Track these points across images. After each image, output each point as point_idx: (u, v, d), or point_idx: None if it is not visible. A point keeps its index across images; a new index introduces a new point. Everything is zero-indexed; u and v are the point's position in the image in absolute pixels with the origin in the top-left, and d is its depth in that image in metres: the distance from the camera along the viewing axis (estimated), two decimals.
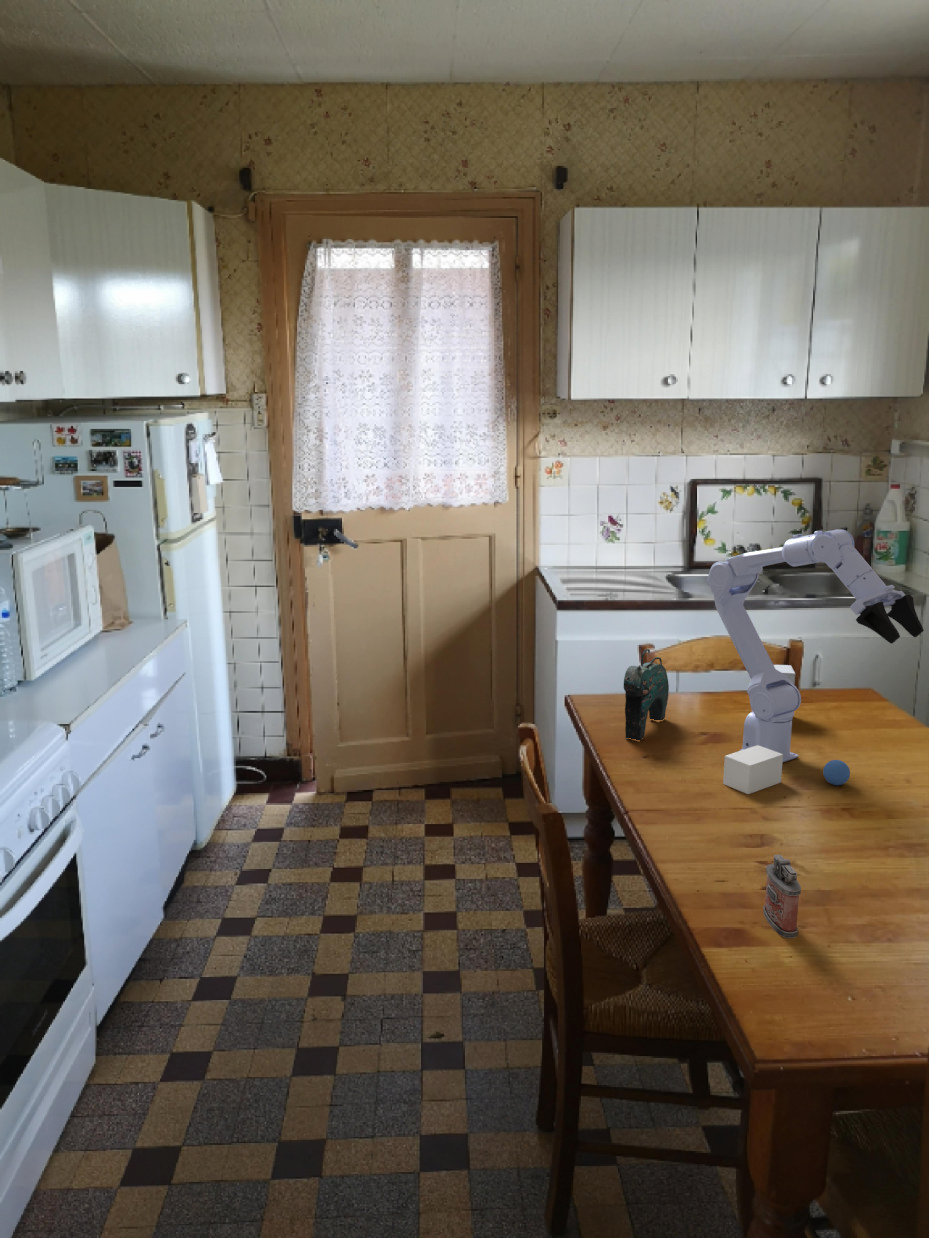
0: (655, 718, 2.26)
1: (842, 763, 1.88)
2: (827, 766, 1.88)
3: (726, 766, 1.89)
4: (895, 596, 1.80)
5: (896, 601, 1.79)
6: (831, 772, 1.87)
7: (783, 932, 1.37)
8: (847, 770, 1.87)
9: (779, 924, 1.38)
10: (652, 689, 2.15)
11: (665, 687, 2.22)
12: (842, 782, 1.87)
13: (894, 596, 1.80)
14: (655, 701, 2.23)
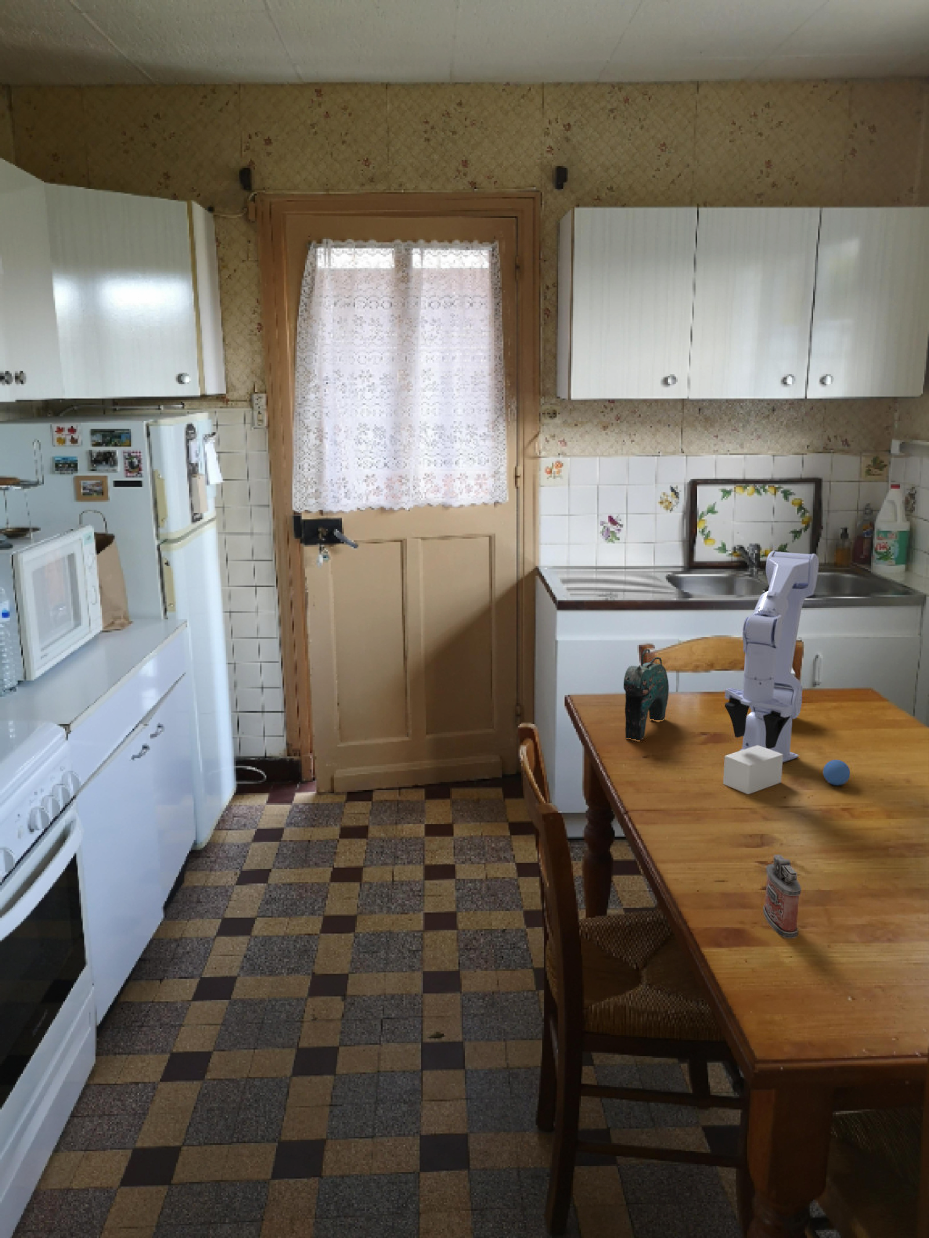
0: (655, 718, 2.26)
1: (842, 763, 1.88)
2: (827, 766, 1.88)
3: (726, 766, 1.89)
4: None
5: None
6: (831, 772, 1.87)
7: (783, 932, 1.37)
8: (847, 770, 1.87)
9: (779, 924, 1.38)
10: (652, 689, 2.15)
11: (665, 687, 2.22)
12: (842, 782, 1.87)
13: None
14: (655, 701, 2.23)
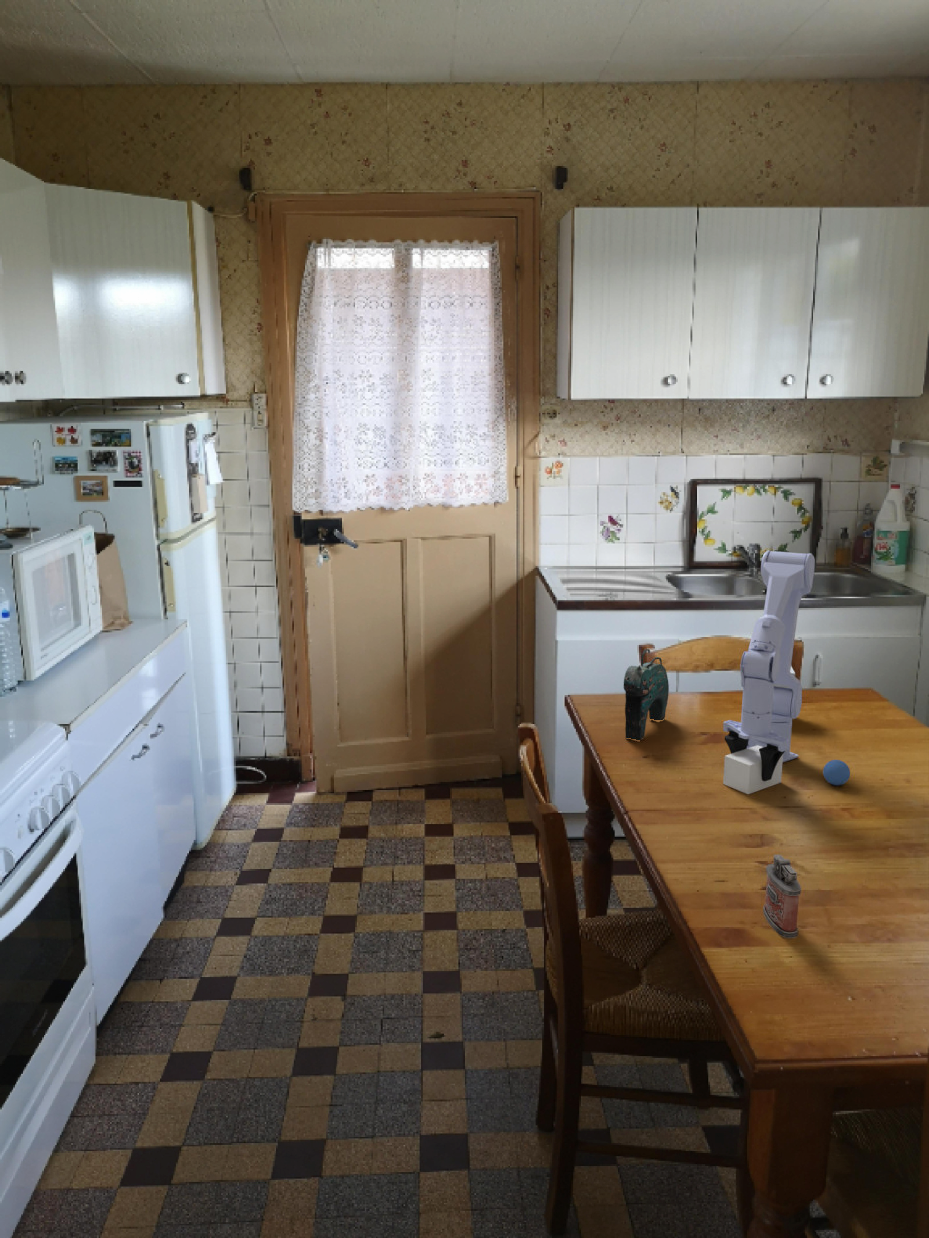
0: (655, 718, 2.26)
1: (842, 763, 1.88)
2: (827, 766, 1.88)
3: (726, 766, 1.89)
4: None
5: None
6: (831, 772, 1.87)
7: (783, 932, 1.37)
8: (847, 770, 1.87)
9: (779, 924, 1.38)
10: (652, 689, 2.15)
11: (665, 687, 2.22)
12: (842, 782, 1.87)
13: None
14: (655, 701, 2.23)
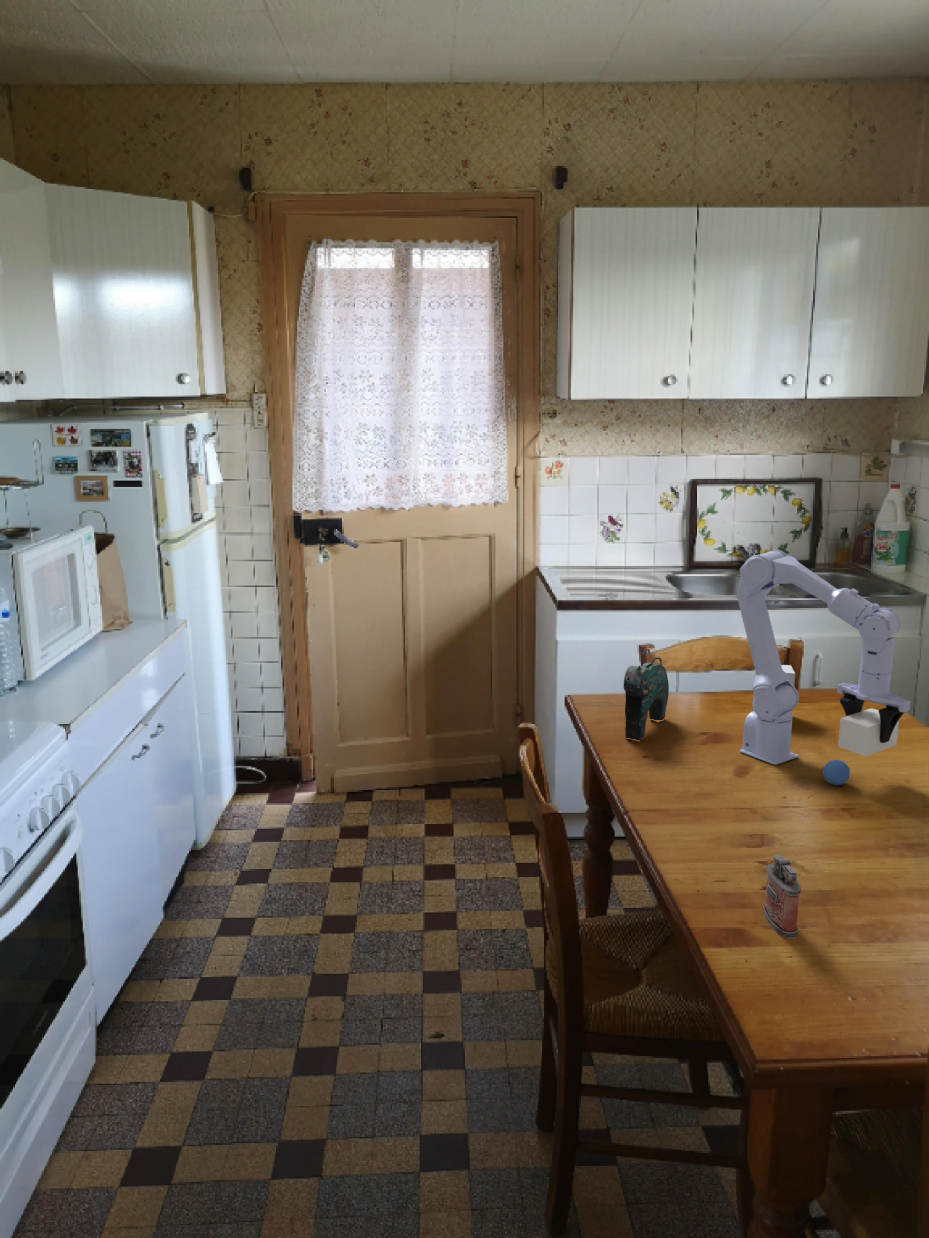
0: (655, 718, 2.26)
1: (842, 763, 1.88)
2: (827, 766, 1.88)
3: (842, 729, 1.88)
4: None
5: None
6: (831, 772, 1.87)
7: (783, 932, 1.37)
8: (847, 770, 1.87)
9: (779, 924, 1.38)
10: (652, 689, 2.15)
11: (665, 687, 2.22)
12: (842, 782, 1.87)
13: None
14: (655, 701, 2.23)
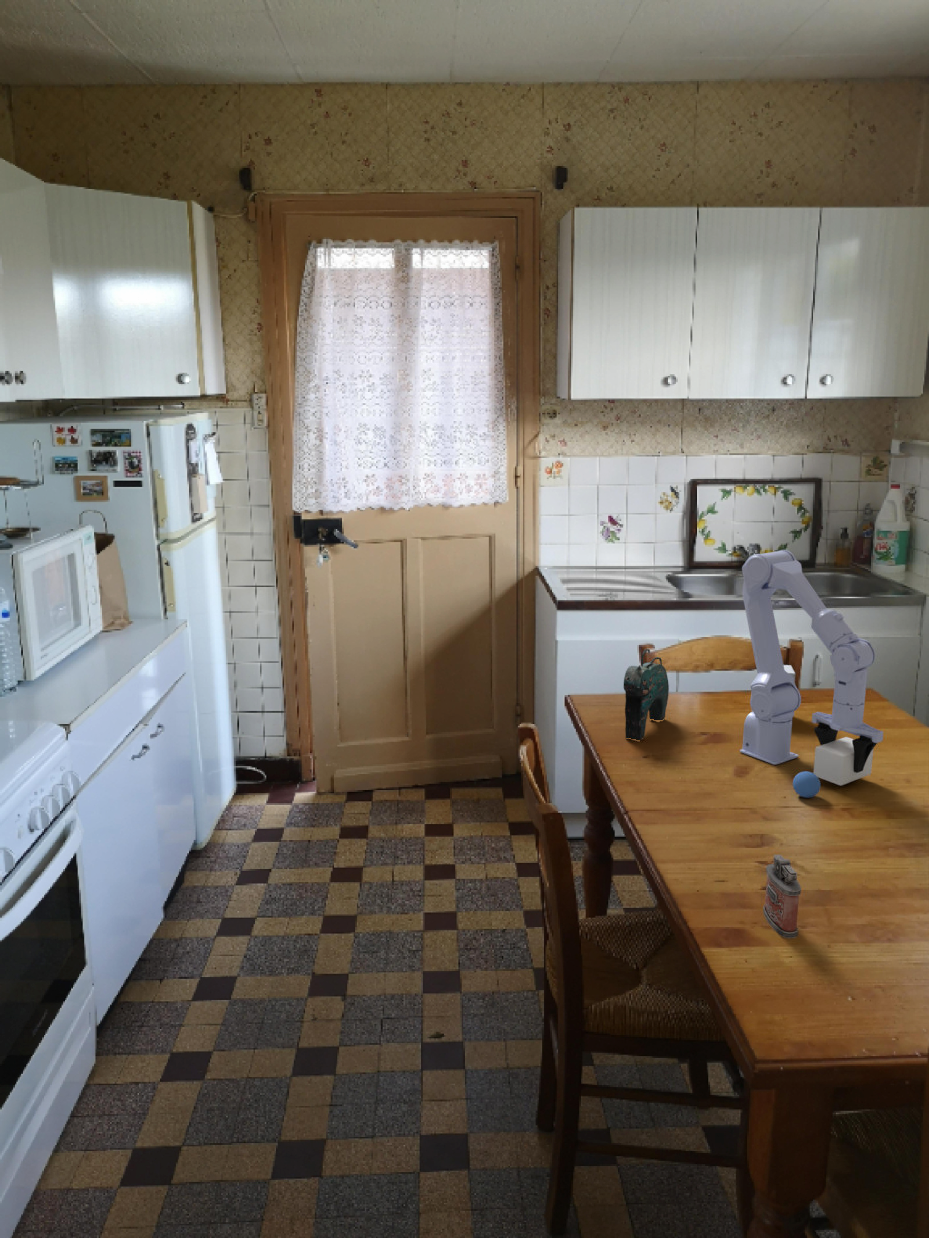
0: (655, 718, 2.26)
1: None
2: None
3: (817, 757, 1.88)
4: None
5: None
6: None
7: (783, 932, 1.37)
8: (818, 791, 1.82)
9: (779, 924, 1.38)
10: (652, 689, 2.15)
11: (665, 687, 2.22)
12: (815, 780, 1.81)
13: None
14: (655, 701, 2.23)
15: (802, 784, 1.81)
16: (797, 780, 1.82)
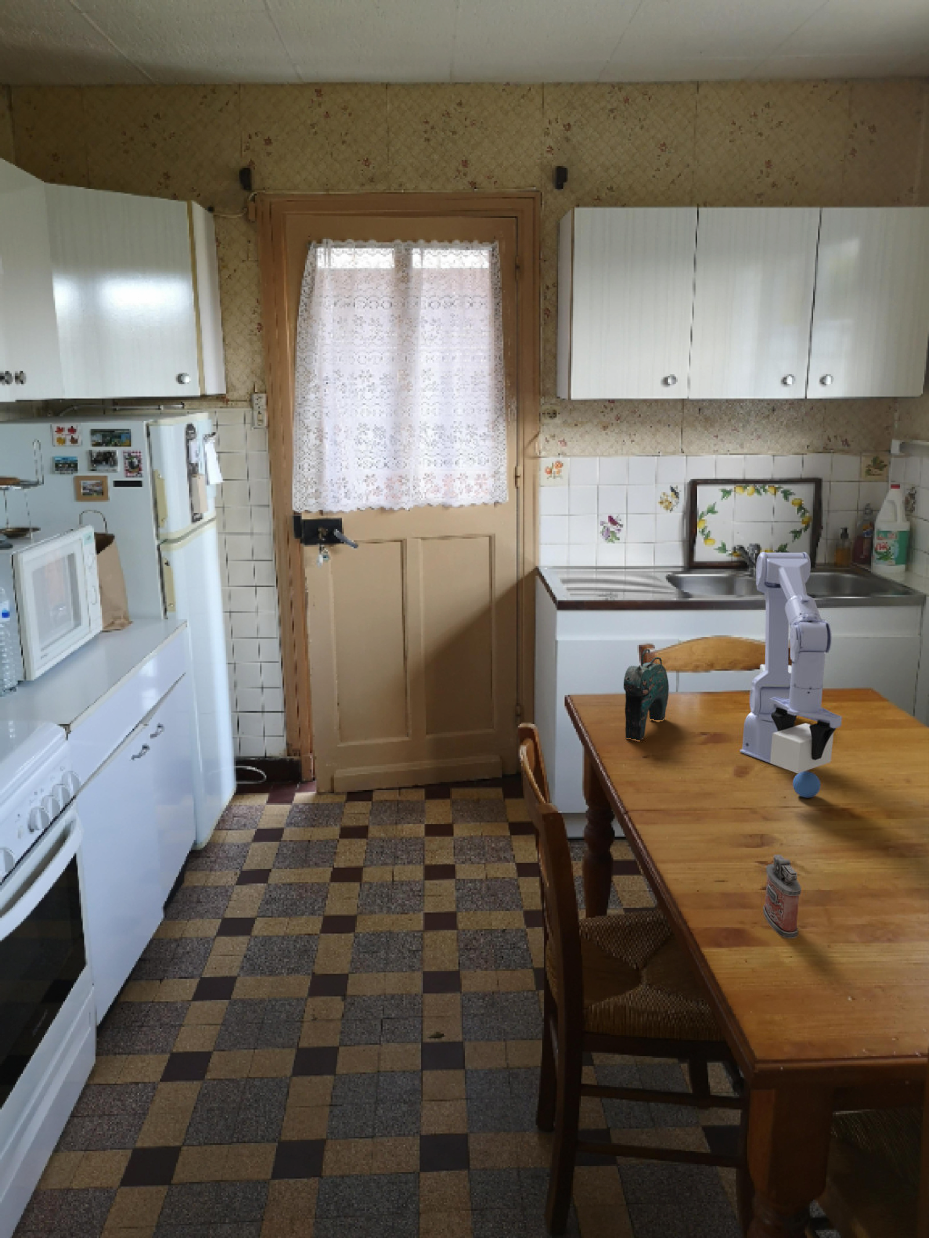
0: (655, 718, 2.26)
1: None
2: None
3: (774, 744, 1.79)
4: None
5: None
6: None
7: (783, 932, 1.37)
8: (818, 791, 1.82)
9: (779, 924, 1.38)
10: (652, 689, 2.15)
11: (665, 687, 2.22)
12: (815, 780, 1.81)
13: None
14: (655, 701, 2.23)
15: (802, 784, 1.81)
16: (797, 780, 1.82)
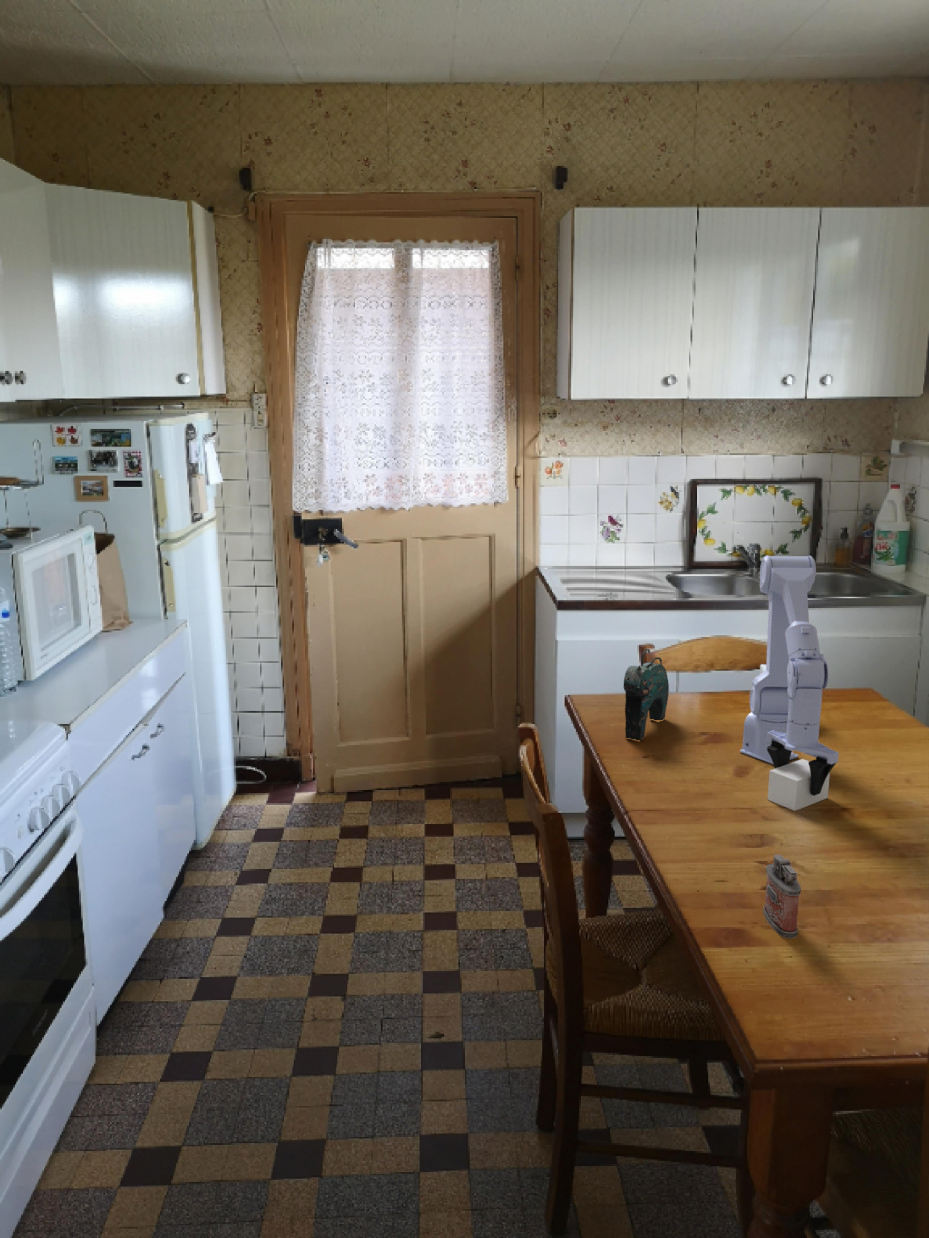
0: (655, 718, 2.26)
1: None
2: None
3: (771, 781, 1.81)
4: None
5: None
6: None
7: (783, 932, 1.37)
8: None
9: (779, 924, 1.38)
10: (652, 689, 2.15)
11: (665, 687, 2.22)
12: None
13: None
14: (655, 701, 2.23)
15: None
16: None
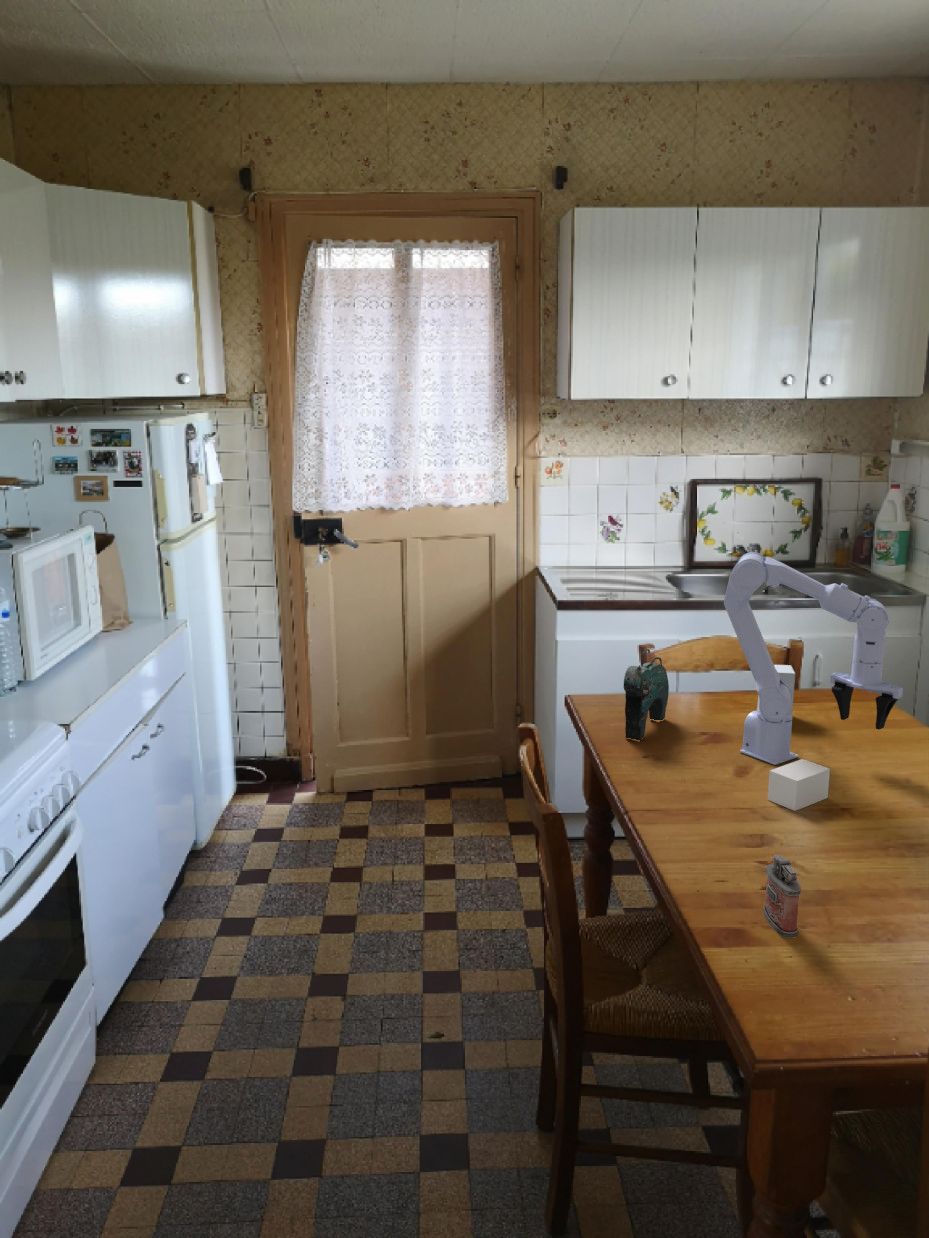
0: (655, 718, 2.26)
1: None
2: None
3: (771, 781, 1.81)
4: None
5: None
6: None
7: (783, 932, 1.37)
8: None
9: (779, 924, 1.38)
10: (652, 689, 2.15)
11: (665, 687, 2.22)
12: None
13: None
14: (655, 701, 2.23)
15: None
16: None
